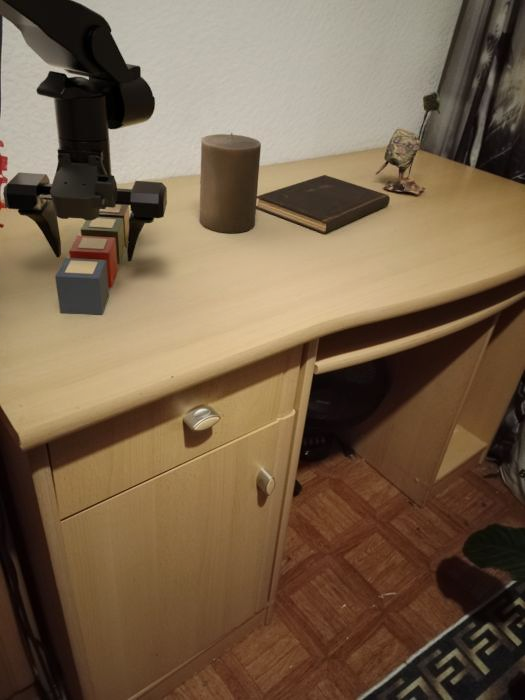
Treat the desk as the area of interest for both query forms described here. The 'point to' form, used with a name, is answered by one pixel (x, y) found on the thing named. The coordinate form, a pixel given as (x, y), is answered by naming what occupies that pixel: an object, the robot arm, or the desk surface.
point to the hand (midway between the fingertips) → (94, 258)
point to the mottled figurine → (407, 150)
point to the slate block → (82, 286)
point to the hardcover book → (322, 203)
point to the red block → (97, 252)
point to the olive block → (107, 231)
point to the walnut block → (118, 216)
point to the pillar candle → (229, 182)
